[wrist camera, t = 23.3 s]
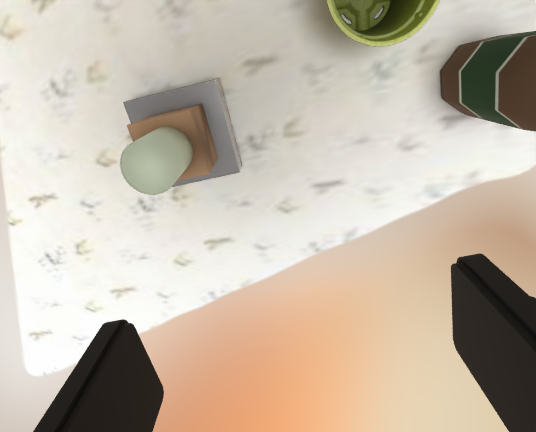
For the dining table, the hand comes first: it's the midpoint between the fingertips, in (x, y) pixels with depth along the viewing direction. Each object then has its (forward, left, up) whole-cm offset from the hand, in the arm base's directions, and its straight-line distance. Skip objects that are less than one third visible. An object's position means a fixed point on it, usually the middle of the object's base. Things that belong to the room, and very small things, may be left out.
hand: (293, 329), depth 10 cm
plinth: (-2, -10, -33) cm, 35 cm away
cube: (-2, -10, -30) cm, 32 cm away
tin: (-2, -10, -24) cm, 26 cm away
